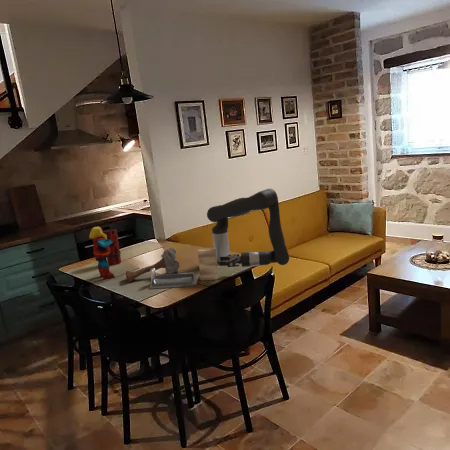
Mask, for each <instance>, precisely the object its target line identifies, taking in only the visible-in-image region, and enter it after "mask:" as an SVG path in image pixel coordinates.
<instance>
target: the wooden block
mask: <svg viewBox="0 0 450 450" xmlns="http://www.w3.org/2000/svg"><path fill="white" fill-rule="evenodd" d="M197 256H198V266H199V267H198V268H199V278H200V281H209V280H210V281H212V280H218V279H219V272H218V270H219V268H218V262H217V258H216V248H214V247H211V248H209V247H207V248H198V249H197Z"/></svg>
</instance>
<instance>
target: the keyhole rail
mask: <svg viewBox="0 0 450 450" xmlns="http://www.w3.org/2000/svg"><path fill="white" fill-rule="evenodd" d="M149 274H150V281H151V283H150V284H151V285H150V286H149V289H150V290H154V289H171V288H184V287H185V288H187V287H188V288H189V287H197V284H198V281H199V278H200V274H195V273H194V272H193V271H191V272H179V273H178V272H175V273H173V274H167V273H163V274H158V275H157V273H156V270H155V268H152V269H151V270H150V272H149Z"/></svg>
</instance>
